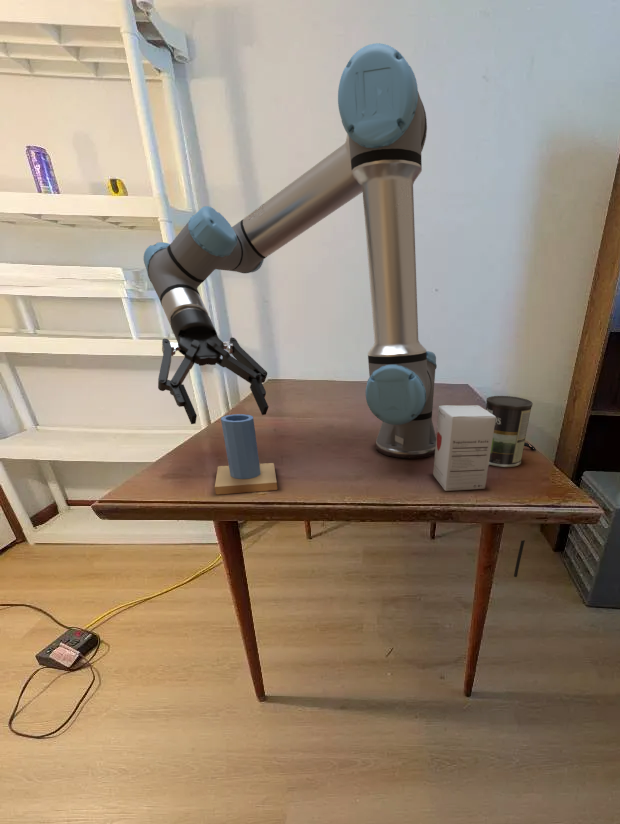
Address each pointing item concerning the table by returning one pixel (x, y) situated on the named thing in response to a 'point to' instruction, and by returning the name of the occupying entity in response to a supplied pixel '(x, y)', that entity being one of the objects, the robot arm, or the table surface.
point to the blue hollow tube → (241, 446)
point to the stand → (245, 481)
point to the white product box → (463, 447)
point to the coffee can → (508, 429)
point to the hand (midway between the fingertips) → (231, 415)
